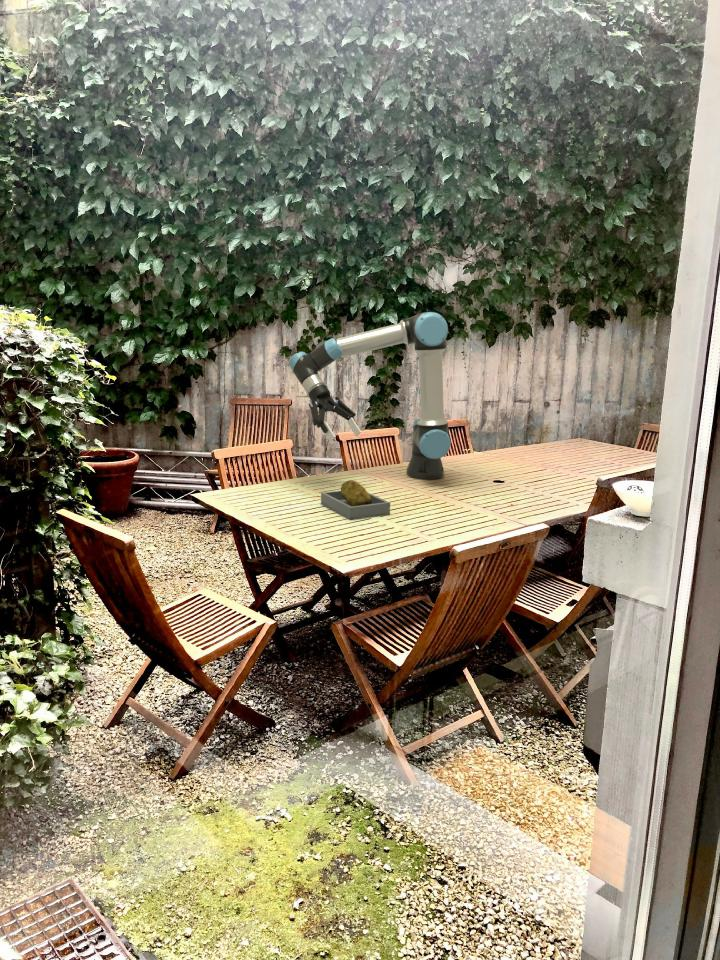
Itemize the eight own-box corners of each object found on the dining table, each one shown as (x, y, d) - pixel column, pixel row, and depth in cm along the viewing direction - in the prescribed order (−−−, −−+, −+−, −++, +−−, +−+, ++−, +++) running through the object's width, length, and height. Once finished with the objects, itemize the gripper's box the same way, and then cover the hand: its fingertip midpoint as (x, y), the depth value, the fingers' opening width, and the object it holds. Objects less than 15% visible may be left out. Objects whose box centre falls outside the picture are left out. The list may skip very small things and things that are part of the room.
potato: (349, 512, 228) (350, 488, 226) (337, 501, 240) (338, 478, 238) (373, 510, 231) (374, 487, 229) (360, 500, 242) (361, 477, 241)
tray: (320, 504, 240) (321, 492, 239) (358, 499, 247) (359, 488, 246) (350, 519, 223) (350, 507, 222) (389, 514, 231) (390, 502, 230)
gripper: (334, 393, 269) (363, 437, 263) (286, 399, 250) (316, 447, 245) (345, 380, 264) (374, 425, 258) (296, 386, 246) (327, 435, 240)
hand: (346, 436), depth 252 cm, fingers open, 13 cm apart
